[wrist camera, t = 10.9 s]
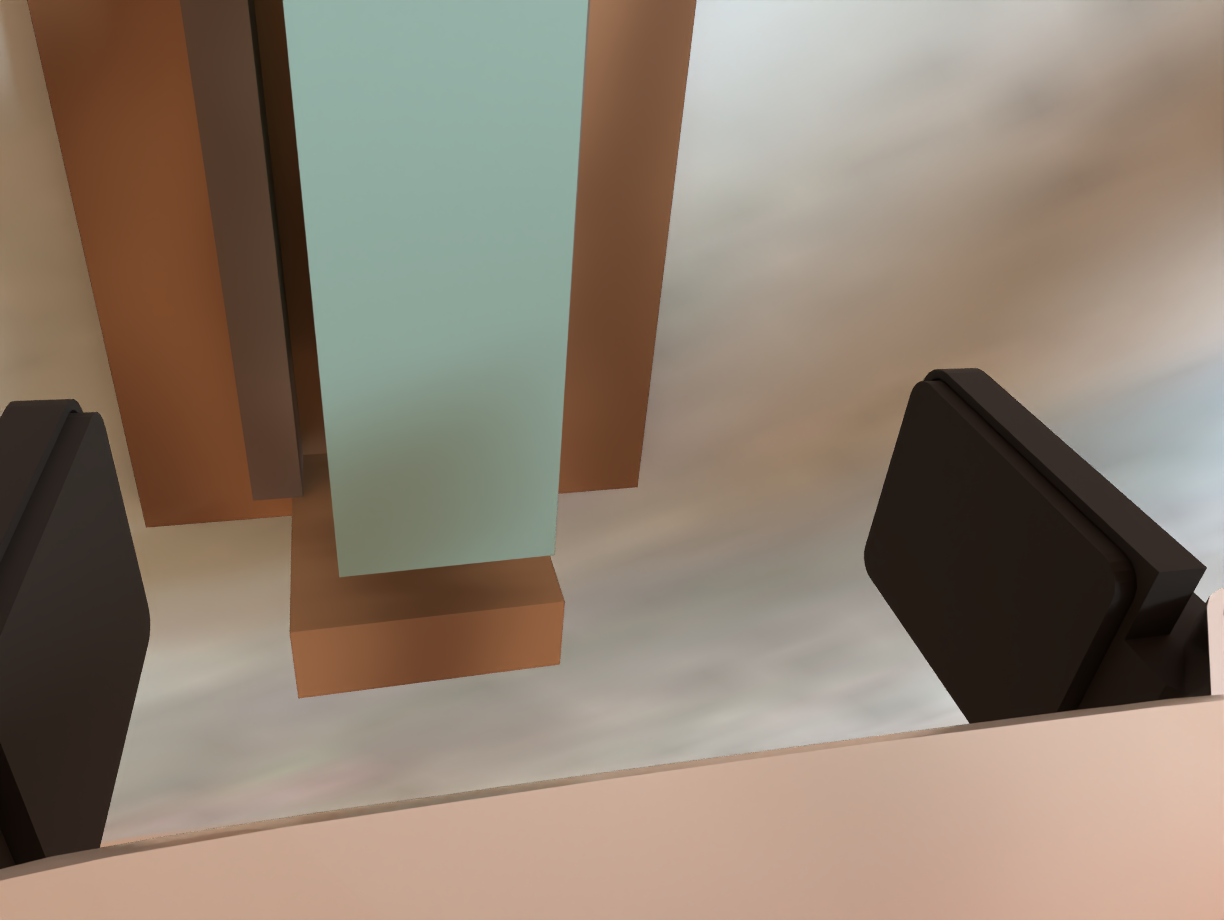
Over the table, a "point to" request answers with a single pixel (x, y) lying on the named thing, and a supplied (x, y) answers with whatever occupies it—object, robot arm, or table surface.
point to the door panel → (439, 266)
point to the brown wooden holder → (283, 310)
